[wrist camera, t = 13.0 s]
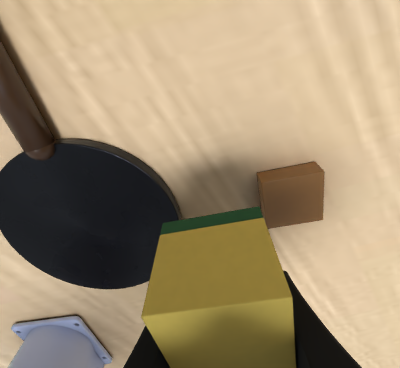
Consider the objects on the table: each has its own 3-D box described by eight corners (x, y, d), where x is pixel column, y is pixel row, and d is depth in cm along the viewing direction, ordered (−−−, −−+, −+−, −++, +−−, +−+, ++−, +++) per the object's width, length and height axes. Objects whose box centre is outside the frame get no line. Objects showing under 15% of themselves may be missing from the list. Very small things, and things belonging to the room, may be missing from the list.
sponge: (271, 304, 14) (298, 403, 10) (197, 313, 14) (194, 411, 10) (259, 205, 10) (293, 297, 6) (162, 222, 11) (140, 317, 7)
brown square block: (314, 207, 18) (323, 220, 17) (262, 216, 19) (266, 229, 17) (315, 161, 16) (324, 170, 15) (256, 172, 17) (261, 182, 15)
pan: (199, 268, 22) (198, 286, 20) (60, 289, 23) (49, 307, 22) (74, -110, 10) (49, -141, 9) (-182, -16, 12) (-244, -26, 10)
